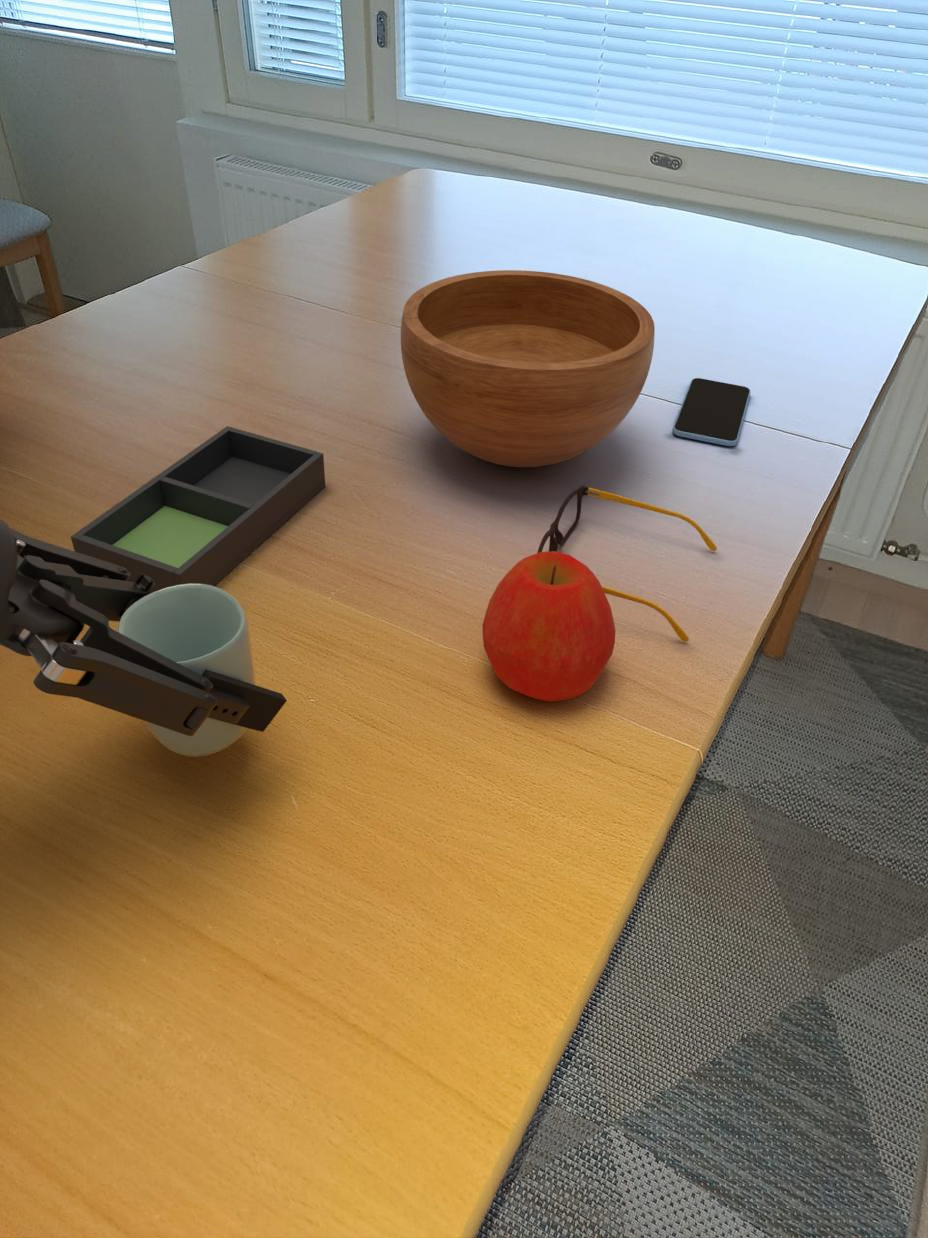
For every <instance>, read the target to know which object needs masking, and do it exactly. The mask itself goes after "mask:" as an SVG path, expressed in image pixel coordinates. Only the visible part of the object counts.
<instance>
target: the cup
mask: <svg viewBox="0 0 928 1238" xmlns="http://www.w3.org/2000/svg"><path fill="white" fill-rule="evenodd" d="M117 632H119V633H121V634H123V635H125V636H126V637H128V638H130V639H132V640H134V641H136V642H138V643H140V644H142V645H144V646H146V647H148V648H149V649H151V650H153V651H155V652H157V653H159V654H161V655H163V656H165V657H167V658H169V659H171V660H173V661H174V662H176V663H178V664H180V665H182V666H184V667H186V668H188V669H190V670H192V671H194V672H196V673H197V674H199V675H202V674H203V673H204V671H205V670H209V671H213V672H216V673H219V674H222V675H225V676H228V677H231V678H234V679H238V680H241V681H244V682H247V683H250V684H253V685H256V686H257V682H256V671H255V670H256V669H255V662H254V654H253V646H252V641H251V640H252V639H251V634H250V633H251V631H250V627H249V621H248V617H247V615H246V612H245V610H244V607H243V605H242V604H241V603H240V602H239V600H238V599H237V598H235V597H234V596H233V595H232V594H231V593H229V592H228V591H226V590H224V589H222V588H221V587H217V586H211V585H206V584H181V585H176V586H171V587H167V588H164V589H161V590H158V591H155V592H153V593H151V594H149V595H147V596H145V597H143V598H141V599H140V600H138V601H137V602H135V603H134V604H133V605H132V606H130V607H129V608H128V609H127V610H126V612H125V613H124V614H123V616H122V617H121V619H120V622H118V626H117ZM143 722H144V723H145V726H146V727H147V728H148V730H149V732H150V734H151V735H152V737H154V738H155V739H156V740H157V741H158V743H160V744H161V745H162V746H163V747H165V748H166V749H167V750H169V751H171V752H172V753H175V754H177V755H180V756H185V757H191V758H192V757H195V758H196V757H198V758H199V757H204V756H209V755H213V754H216V753H218V752H220V751H223V750H225V749H226V748H228V747H230V746H232V745H233V744H235V743H236V742H237V741H238V740H239V739H241V737H242V736H243V735H244V734H245V733H246V731H247V730H248V728H246V727H242V726H238V725H234V724H231V723H227V722H223V721H219V720H216V719H212V718H208V717H207V718H206V719H205V721H204V722H203V723H202V725H201V726H200V727H199V729H198V730H197V731H196V732H195V734H194V735H193V736H187V735H184V734H181V733H179V732H176V731H173V730H170V729H167V728H164V727H161V726H158V725H155V724H152V723H149V722H147V721H144V720H143Z"/></svg>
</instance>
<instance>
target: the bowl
mask: <svg viewBox="0 0 928 1238" xmlns="http://www.w3.org/2000/svg"><path fill="white" fill-rule="evenodd" d="M403 306H404V307H403V310H402V315H401V324H400V351H401V352H400V353H401V360H402V364H403V371H404V373H405V377H406V380H407V383H408V385H409V388H410V391H411V393H412V395H413V396H414V399H415V402H416V403H417V405H418V407H419V408H420V410H421V411H422V413H423V414H424V416H425V417H426V419H428V421H429V423H431V425H432V426H433V427H434V428H435V429H436V430H437V431H438V432H439V433H440V434H441V435H442V436H443V437H444V438H446V439H447V440H448V441H449V442H450V443H452V444H453V445H455V446H456V447H457V448H458V449H460V450H462V451H463V452H466V453H467V454H469V455H470V456H473V457H475V458H478V459H479V460H481V461H486V462H489V463H491V464H495V465H500V466H506V467H512V468H514V467H515V468H537V467H544V466H550V465H555V464H558V463H561V462H562V463H563V462H565V461H568V460H570V459H572V458H575V457H577V456H579V455H582V454H584V453H585V452H587V451H589V450H590V449H592V448H593V447H596V446H597V445H598V444H599V443H601V442H602V441H603V440H604V439H606V438H607V437H608V436H609V435H611V434H612V433H613V432H614V431H615V430H616V429H617V428H618V427H619V426H620V424H621V423H622V422H623V421H624V420H625V418H626V417H627V416H628V415H629V413H630V412H631V410H632V409H633V408H634V406H635V404H636V402H637V400H638V399H639V397H640V395H641V393H642V391H643V388H644V387H645V384H646V382H647V378H648V376H649V373H650V369H651V365H652V360H653V356H654V348H655V336H656V335H655V333H656V332H655V328H656V327H655V322H654V319H653V317H652V315H651V314H650V312H649V311H648V310H647V308H646V307H645V306H644V305H642V304H641V303H640V302H638V300H635V298H632V297H631V296H629V295H628V294H626V293H623V292H621V291H620V290H618V289H616V288H613V287H610V286H607V285H605V284H602V283H599V282H596V281H593V280H590V279H585V278H581V277H577V276H573V275H566V274H561V273H555V272H554V273H553V272H547V271H536V270H515V269H508V270H507V269H505V270H504V269H503V270H485V271H475V272H469V273H462V274H457V275H453V276H449V277H446V278H442V279H438V280H435V281H433V282H431V283H429V284H427V285H425V286H422V287H421V288H419V289H418V290H416V291H414V293H412V294H411V296H409V297H408V299H407V300H406V302H405V303H404V305H403Z"/></svg>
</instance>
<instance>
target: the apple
mask: <svg viewBox="0 0 928 1238" xmlns="http://www.w3.org/2000/svg"><path fill="white" fill-rule="evenodd" d="M602 586H603V585H601V581H600V580H599V579H598V577H597V576H596V575H595V574H594V572H593V571H592V570H591V569H590V568H589V566H587V565H586V564H584V563H583V562H581V561H580V560H579V559H577V558H576V557H574V556H573V555H571V554H569V553H568V554H567V553H563V552H558V551H557V552H555V551H551V552H549V551H542V552H539V553H537V552H536V553H534V554H531V555H529V556H526V557H524V558H522V559H521V560H519V561H517V563H516V564H515V565H514V566H512V568H511V569H510V570H509V571H508V572H507V573H506V574H505V575H504V576H503V577H502V578H501V580H500V582H499V583H498V584H497V586H496V588H495V589H494V591H493V593H492V595H491V597H490V599H489V602H488V604H487V607H486V610H485V613H484V618H483V621H482V625H481V626H482V643H483V648H484V651H485V653H486V655H487V658H488V660H489V662H490V665H491V667H492V669H493V671H494V673H495V675H496V677H497V678H498V679H499V680H500V681H501V682H502V683H504V684H505V685H506V686H507V687H508V688H509V689H510V690H513V691H514V692H517V693H519V694H522V695H524V696H527V697H529V698H533V699H535V700H539V701H540V700H541V701H544V702H549V703H551V702H558V701H566V700H567V701H568V700H572V699H575V698H578V696H580V695H582V694H584V693H586V692H588V691H590V690H591V688H592V687H593V686H594V684H595V683H596V682H597V680H598V679H599V678H600V676H601V674H602V673H603V670H605V667H606V665H607V664H608V662H609V660H610V659H611V658H612V656H613V653H614V648H615V645H616V625H615V620H614V616H613V611H612V607H611V605H610V602H609V599H608V598H607V594H606V593H604V591H603V589H602Z"/></svg>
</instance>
